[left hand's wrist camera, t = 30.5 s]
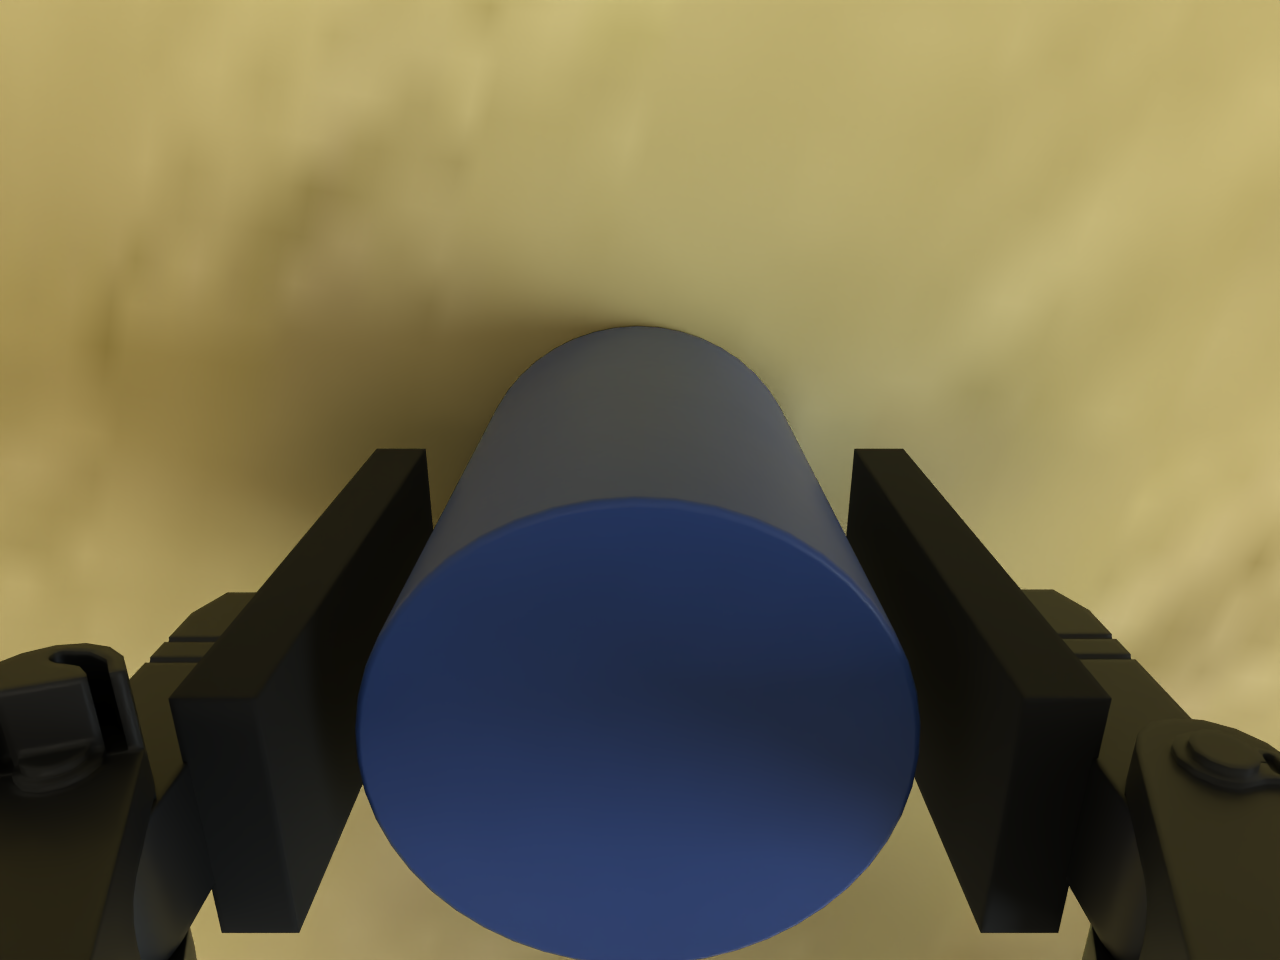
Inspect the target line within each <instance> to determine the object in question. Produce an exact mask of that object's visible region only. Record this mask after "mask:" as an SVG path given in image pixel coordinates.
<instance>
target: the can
mask: <svg viewBox="0 0 1280 960" xmlns="http://www.w3.org/2000/svg"><path fill="white" fill-rule="evenodd" d="M920 723H921V722H920V714H919V705H918V696H917V690H916V686H915V683H914V679H913V676H912V672H911V669H910V665H909V661H908V659H907V657H906V655H905V653H904V650H903V648H902V646H901V644H900V642H899V640H898V637H897V635H896V633H895V631H894V629H893V627H892V625H891V623H890V621H889V619H888V617H887V615H886V613H885V611H884V610H883V608H882V606H881V604H880V602H879V600H878V598H877V596H876V594H875V592H874V590H873V588H872V586H871V584H870V582H869V580H868V578H867V576H866V574H865V572H864V570H863V569H862V567H861V565H860V563H859V561H858V559H857V557H856V555H855V553H854V551H853V549H852V547H851V545H850V543H849V541H848V539H847V537H846V535H845V533H844V531H843V530H842V528H841V526H840V524H839V522H838V520H837V518H836V516H835V514H834V512H833V510H832V508H831V506H830V504H829V502H828V500H827V498H826V496H825V494H824V492H823V490H822V489H821V487H820V485H819V483H818V481H817V479H816V477H815V475H814V473H813V471H812V469H811V467H810V465H809V463H808V461H807V459H806V457H805V455H804V453H803V451H802V449H801V448H800V446H799V444H798V442H797V440H796V438H795V436H794V434H793V432H792V430H791V428H790V426H789V424H788V422H787V420H786V418H785V416H784V414H783V412H782V410H781V409H780V407H779V405H778V403H777V402H776V400H775V399H774V397H773V396H772V394H771V393H770V391H769V390H768V388H767V387H766V386H765V385H764V384H763V382H762V381H761V380H760V379H759V378H758V377H757V376H756V374H755V373H754V372H752V371H751V370H750V369H749V368H748V367H747V366H746V365H744V364H743V363H742V362H741V361H740V360H739V359H737V358H736V357H734V356H733V355H731V354H730V353H728V352H727V351H725V350H724V349H722V348H720V347H718V346H716V345H714V344H712V343H710V342H708V341H706V340H704V339H702V338H699V337H696V336H693V335H690V334H687V333H684V332H680V331H675V330H670V329H664V328H659V327H641V326H634V327H620V328H612V329H607V330H603V331H598V332H593V333H590V334H587V335H585V336H582V337H579V338H576V339H573V340H571V341H569V342H567V343H565V344H563V345H561V346H559V347H557V348H555V349H553V350H552V351H550V352H549V353H548V354H546V355H545V356H543V357H542V358H540V359H539V360H537V361H536V362H535V363H534V364H533V365H532V366H531V367H529V368H528V369H527V370H526V371H525V372H524V373H523V374H522V375H521V376H520V377H519V378H518V379H517V380H516V382H515V383H514V384H513V385H512V386H511V388H510V389H509V390H508V391H507V393H506V394H505V396H504V398H503V399H502V401H501V403H500V404H499V406H498V407H497V409H496V411H495V413H494V415H493V417H492V419H491V421H490V422H489V424H488V426H487V428H486V430H485V432H484V434H483V436H482V438H481V440H480V442H479V444H478V445H477V447H476V449H475V451H474V453H473V455H472V457H471V459H470V461H469V463H468V465H467V467H466V468H465V470H464V472H463V474H462V476H461V478H460V480H459V482H458V484H457V486H456V488H455V490H454V492H453V493H452V495H451V497H450V499H449V501H448V503H447V505H446V507H445V509H444V511H443V513H442V515H441V516H440V518H439V520H438V522H437V524H436V526H435V528H434V530H433V532H432V534H431V536H430V538H429V539H428V541H427V543H426V545H425V547H424V549H423V551H422V553H421V555H420V557H419V559H418V561H417V563H416V564H415V566H414V568H413V570H412V572H411V574H410V576H409V578H408V580H407V582H406V584H405V586H404V587H403V589H402V591H401V593H400V595H399V597H398V599H397V601H396V603H395V605H394V607H393V609H392V610H391V612H390V614H389V616H388V618H387V620H386V622H385V624H384V626H383V628H382V630H381V632H380V633H379V635H378V638H377V640H376V642H375V645H374V647H373V649H372V652H371V654H370V656H369V659H368V661H367V663H366V666H365V669H364V673H363V677H362V681H361V685H360V689H359V693H358V698H357V710H356V721H355V735H356V748H357V759H358V764H359V769H360V773H361V777H362V781H363V786H364V790H365V793H366V795H367V798H368V800H369V803H370V805H371V808H372V810H373V813H374V815H375V818H376V820H377V822H378V823H379V825H380V827H381V829H382V830H383V832H384V834H385V836H386V837H387V839H388V841H389V842H390V844H391V846H392V847H393V848H394V850H395V851H396V852H397V854H398V855H399V856H400V857H401V859H402V860H403V861H404V863H405V864H406V865H407V866H408V868H409V869H410V870H411V871H412V872H413V873H414V874H415V875H416V876H417V877H418V878H419V879H420V880H421V881H422V882H423V883H424V884H425V885H426V886H427V887H428V888H429V889H430V890H431V891H432V892H433V893H435V894H436V895H437V896H439V897H440V898H441V899H442V900H444V901H445V902H446V903H447V904H449V905H450V906H451V907H453V908H454V909H455V910H456V911H458V912H460V913H461V914H463V915H465V916H466V917H468V918H470V919H471V920H473V921H474V922H476V923H478V924H479V925H481V926H483V927H484V928H487V929H489V930H491V931H493V932H495V933H497V934H499V935H502V936H504V937H506V938H508V939H510V940H512V941H515V942H518V943H521V944H523V945H526V946H529V947H532V948H535V949H538V950H541V951H543V952H548V953H552V954H556V955H560V956H564V957H569V958H573V959H578V960H697V959H703V958H708V957H712V956H716V955H720V954H724V953H728V952H732V951H736V950H739V949H742V948H744V947H747V946H750V945H752V944H755V943H758V942H761V941H763V940H766V939H769V938H771V937H773V936H775V935H777V934H779V933H781V932H783V931H785V930H787V929H789V928H791V927H793V926H795V925H797V924H799V923H800V922H802V921H803V920H805V919H806V918H808V917H810V916H811V915H813V914H814V913H816V912H817V911H819V910H821V909H822V908H824V907H825V906H826V905H827V904H829V903H830V902H831V901H832V900H834V899H835V898H836V897H837V896H838V895H840V894H841V893H842V892H843V891H845V890H846V889H847V888H848V887H849V886H850V885H851V884H852V883H853V882H854V881H855V880H856V879H857V878H858V877H859V876H860V875H861V874H862V873H863V872H864V871H865V870H866V868H867V867H868V866H869V865H870V864H871V863H872V861H873V860H874V858H875V857H876V856H877V854H878V853H879V852H880V850H881V849H882V848H883V846H884V845H885V844H886V842H887V841H888V839H889V837H890V835H891V834H892V832H893V830H894V828H895V826H896V824H897V823H898V821H899V819H900V817H901V815H902V813H903V810H904V807H905V805H906V802H907V799H908V797H909V794H910V791H911V789H912V785H913V780H914V776H915V771H916V766H917V761H918V756H919V744H920Z"/></svg>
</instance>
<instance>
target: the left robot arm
mask: <svg viewBox="0 0 1280 960" xmlns="http://www.w3.org/2000/svg"><path fill="white" fill-rule="evenodd" d="M432 532H433V524H432V513H431V502H430V491H429V481H428V470H427V459H426V449H376V450H375V452H374V453H373V454H372V455H371V456H370V458H369V459H368V460H367V461H366V462H365V464H364V465H363V466H362V467H361V468H360V470H359V471H358V472H357V473H356V474H355V476H354V477H353V478H352V479H351V480H350V482H349V483H348V484H347V485H346V486H345V488H344V489H343V490H342V491H341V492H340V494H339V495H338V496H337V497H336V498H335V500H334V501H333V502H332V503H331V504H330V505H329V507H328V508H327V509H326V510H325V511H324V513H323V514H322V515H321V516H320V517H319V519H318V520H317V521H316V522H315V523H314V525H313V526H312V527H311V528H310V529H309V531H308V532H307V533H306V534H305V535H304V537H303V538H302V539H301V540H300V541H299V543H298V544H297V545H296V546H295V547H294V549H293V550H292V551H291V552H290V553H289V554H288V556H287V557H286V558H285V559H284V560H283V562H282V563H281V564H280V565H279V566H278V568H277V569H276V570H275V571H274V572H273V574H272V575H271V576H270V577H269V578H268V580H267V581H266V582H265V583H264V584H263V586H262V587H261V588H260V589H259V590H258V592H257V593H226V594H224V595H222V596H221V597H219V598H217V599H215V600H214V601H212V602H210V603H208V604H207V605H205V606H203V607H202V608H200V609H198V610H196V611H195V612H193V613H191V614H190V615H189V617H188V618H187V619H186V620H185V621H184V622H183V623H182V624H181V625H180V626H179V627H178V628H177V629H176V630H175V632H174V633H173V634H172V635H171V636H170V637H169V642H164V643H163V644H162V645H161V646H160V648H159V649H158V650H157V651H156V652H155V653H154V654H153V655H152V656H151V657H150V663H145V664H144V665H143V666H142V667H141V668H140V669H139V670H138V671H137V672H136V673H135V674H134V675H133V676H132V677H131V679H130V680H129V677H128V673H127V669H126V665H125V661H124V657H123V656H122V655H121V654H119V653H118V652H116V651H115V650H114V649H112V648H111V647H107V646H101V645H95V644H88V643H82V644H68V645H55V646H51V647H47V648H42V649H38V650H34V651H30V652H25V653H21V654H19V655H16V656H14V657H11V658H9V659H6V660H3V661H1V662H0V960H197V959H196V952H195V946H194V941H193V937H192V933H191V929H190V926H191V924H192V923H193V921H194V919H195V917H196V916H197V914H198V912H199V910H200V909H201V907H202V905H203V903H204V901H205V900H206V898H207V896H208V894H209V893H210V891H211V889H212V892H213V896H214V901H215V905H216V910H217V914H218V918H219V923H220V927H221V931H222V933H299V932H300V930H301V927H302V925H303V923H304V920H305V918H306V916H307V913H308V911H309V909H310V906H311V904H312V901H313V899H314V897H315V894H316V892H317V890H318V887H319V885H320V883H321V880H322V878H323V876H324V873H325V871H326V869H327V866H328V864H329V862H330V859H331V857H332V855H333V852H334V850H335V848H336V845H337V843H338V841H339V838H340V836H341V834H342V831H343V829H344V827H345V824H346V822H347V819H348V817H349V815H350V812H351V810H352V808H353V805H354V803H355V801H356V798H357V796H358V794H359V791H360V789H361V787H362V784H363V781H362V777H361V773H360V769H359V764H358V759H357V748H356V735H355V721H356V710H357V698H358V693H359V689H360V685H361V681H362V677H363V673H364V669H365V666H366V663H367V661H368V659H369V656H370V654H371V652H372V649H373V647H374V645H375V642H376V640H377V638H378V635H379V633H380V632H381V630H382V628H383V626H384V624H385V622H386V620H387V618H388V616H389V614H390V612H391V610H392V609H393V607H394V605H395V603H396V601H397V599H398V597H399V595H400V593H401V591H402V589H403V587H404V586H405V584H406V582H407V580H408V578H409V576H410V574H411V572H412V570H413V568H414V566H415V564H416V563H417V561H418V559H419V557H420V555H421V553H422V551H423V549H424V547H425V545H426V543H427V541H428V539H429V538H430V536H431V534H432ZM846 537H847V539H848V541H849V543H850V545H851V547H852V549H853V551H854V553H855V555H856V557H857V559H858V561H859V563H860V565H861V567H862V569H863V570H864V572H865V574H866V576H867V578H868V580H869V582H870V584H871V586H872V588H873V590H874V592H875V594H876V596H877V598H878V600H879V602H880V604H881V606H882V608H883V610H884V611H885V613H886V615H887V617H888V619H889V621H890V623H891V625H892V627H893V629H894V631H895V633H896V635H897V637H898V640H899V642H900V644H901V646H902V648H903V650H904V653H905V655H906V657H907V659H908V661H909V665H910V669H911V672H912V676H913V679H914V683H915V686H916V690H917V696H918V705H919V714H920V722H921V723H920V744H919V756H918V761H917V766H916V771H915V776H914V777H915V780H916V782H917V784H918V787H919V789H920V791H921V794H922V796H923V798H924V801H925V803H926V805H927V808H928V810H929V812H930V815H931V817H932V819H933V822H934V824H935V826H936V829H937V831H938V833H939V836H940V838H941V841H942V843H943V845H944V848H945V850H946V852H947V855H948V857H949V859H950V862H951V864H952V866H953V869H954V871H955V873H956V876H957V878H958V880H959V883H960V885H961V887H962V890H963V892H964V894H965V897H966V899H967V901H968V904H969V906H970V908H971V911H972V913H973V915H974V918H975V920H976V923H977V925H978V927H979V930H980V932H981V933H1058V931H1059V927H1060V923H1061V918H1062V914H1063V910H1064V905H1065V901H1066V897H1067V892H1068V888H1069V886H1070V888H1071V890H1072V892H1073V893H1074V895H1075V897H1076V899H1077V900H1078V902H1079V904H1080V906H1081V907H1082V909H1083V911H1084V913H1085V914H1086V916H1087V918H1088V920H1089V921H1090V923H1091V925H1090V929H1089V933H1088V937H1087V941H1086V946H1085V950H1084V954H1083V958H1082V960H1280V752H1279V751H1278V750H1276V749H1275V748H1273V747H1272V746H1270V745H1269V744H1268V743H1266V742H1263V741H1261V740H1259V739H1257V738H1255V737H1252V736H1250V735H1248V734H1246V733H1244V732H1241V731H1239V730H1237V729H1234V728H1230V727H1227V726H1223V725H1219V724H1216V723H1212V722H1208V721H1205V720H1195V719H1191V718H1190V717H1189V716H1188V715H1187V713H1186V712H1185V711H1184V710H1183V709H1182V708H1181V707H1180V706H1179V705H1178V704H1177V703H1176V702H1175V701H1174V700H1173V699H1172V698H1171V697H1170V695H1169V694H1168V693H1167V692H1166V691H1165V690H1164V689H1163V688H1162V687H1161V686H1160V685H1159V684H1158V683H1157V682H1156V681H1155V680H1154V679H1153V677H1152V676H1151V675H1150V674H1149V673H1148V672H1147V671H1146V670H1145V669H1144V668H1143V667H1142V666H1141V665H1140V664H1139V663H1138V662H1137V661H1136V659H1131V654H1130V653H1129V652H1128V651H1127V650H1126V649H1125V648H1124V647H1123V646H1122V645H1121V644H1120V642H1119V641H1118V640H1117V639H1112V634H1111V633H1110V632H1109V631H1108V630H1107V629H1106V628H1105V627H1104V626H1103V624H1102V623H1101V622H1100V621H1099V620H1098V619H1097V618H1096V617H1095V616H1094V615H1093V614H1092V613H1091V612H1090V611H1089V610H1088V609H1086V608H1084V607H1083V606H1081V605H1079V604H1077V603H1076V602H1074V601H1072V600H1070V599H1069V598H1067V597H1065V596H1063V595H1062V594H1060V593H1058V592H1056V591H1055V590H1021V589H1020V588H1019V587H1018V586H1017V584H1016V583H1015V582H1014V581H1013V580H1012V578H1011V577H1010V576H1009V575H1008V574H1007V572H1006V571H1005V570H1004V569H1003V568H1002V566H1001V565H1000V564H999V563H998V562H997V560H996V559H995V558H994V557H993V556H992V554H991V553H990V552H989V551H988V550H987V548H986V547H985V546H984V545H983V544H982V543H981V541H980V540H979V539H978V538H977V537H976V535H975V534H974V533H973V532H972V531H971V529H970V528H969V527H968V526H967V525H966V523H965V522H964V521H963V520H962V519H961V517H960V516H959V515H958V514H957V513H956V511H955V510H954V509H953V508H952V507H951V505H950V504H949V503H948V502H947V501H946V499H945V498H944V497H943V496H942V495H941V493H940V492H939V491H938V490H937V489H936V488H935V486H934V485H933V484H932V483H931V482H930V480H929V479H928V478H927V477H926V476H925V474H924V473H923V472H922V471H921V470H920V468H919V467H918V466H917V465H916V464H915V462H914V461H913V460H912V459H911V458H910V456H909V455H908V454H907V453H906V452H905V450H904V449H854V459H853V470H852V481H851V492H850V502H849V513H848V524H847V535H846Z"/></svg>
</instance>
